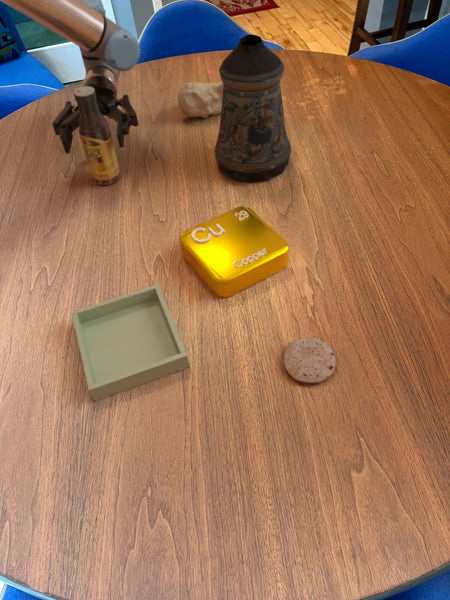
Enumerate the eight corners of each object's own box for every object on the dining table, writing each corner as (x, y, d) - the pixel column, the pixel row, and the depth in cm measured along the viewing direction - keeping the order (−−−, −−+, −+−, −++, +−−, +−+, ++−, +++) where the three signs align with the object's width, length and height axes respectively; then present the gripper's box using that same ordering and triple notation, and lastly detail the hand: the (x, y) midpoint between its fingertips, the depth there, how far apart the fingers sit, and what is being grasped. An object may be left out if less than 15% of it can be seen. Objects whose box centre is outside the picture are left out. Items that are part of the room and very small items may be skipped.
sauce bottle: (87, 181, 105) (57, 93, 90) (107, 167, 108) (81, 79, 93) (108, 190, 102) (81, 101, 87) (128, 175, 106) (105, 86, 91)
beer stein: (234, 192, 99) (227, 70, 80) (199, 148, 111) (185, 32, 92) (304, 169, 103) (313, 47, 84) (263, 128, 115) (262, 13, 96)
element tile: (220, 302, 80) (218, 283, 76) (178, 252, 88) (174, 232, 85) (293, 265, 84) (294, 244, 81) (245, 220, 93) (245, 200, 89)
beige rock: (169, 125, 122) (192, 106, 109) (166, 96, 122) (188, 72, 108) (222, 127, 129) (250, 108, 116) (219, 99, 129) (247, 77, 115)
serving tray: (76, 323, 79) (71, 311, 77) (161, 295, 82) (158, 283, 79) (94, 401, 69) (88, 390, 67) (190, 367, 72) (187, 355, 70)
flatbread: (334, 387, 68) (335, 384, 67) (281, 381, 69) (281, 377, 68) (335, 341, 73) (336, 337, 72) (286, 336, 74) (286, 332, 73)
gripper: (152, 102, 112) (153, 154, 97) (56, 113, 111) (42, 167, 97) (146, 69, 106) (146, 119, 92) (44, 81, 106) (28, 133, 91)
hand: (92, 144), depth 94 cm, fingers open, 10 cm apart
